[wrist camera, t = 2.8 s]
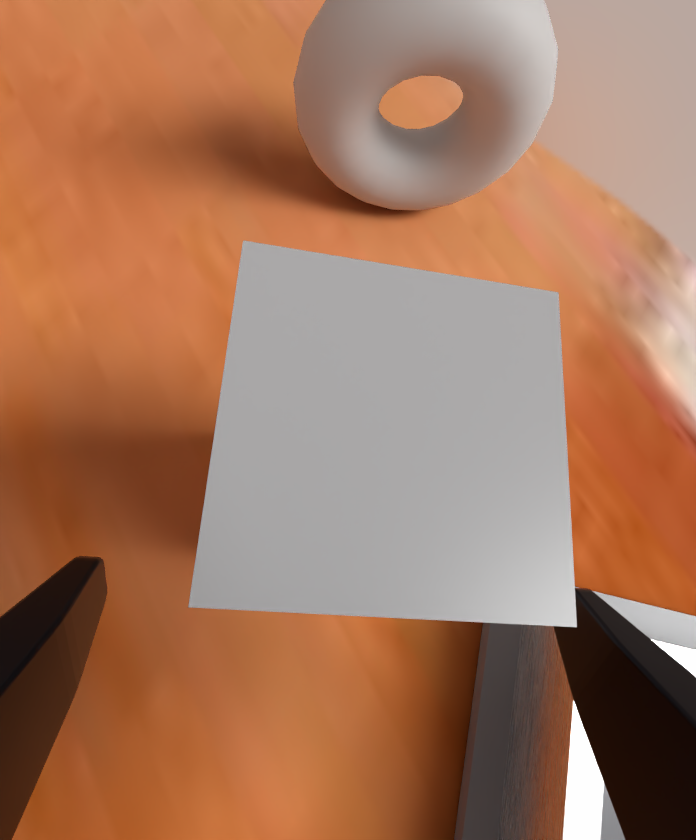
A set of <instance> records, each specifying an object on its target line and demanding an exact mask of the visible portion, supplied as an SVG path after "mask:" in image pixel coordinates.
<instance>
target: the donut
mask: <svg viewBox="0 0 696 840" xmlns="http://www.w3.org/2000/svg"><path fill="white" fill-rule="evenodd" d="M557 57H558V47H557V43H556V39H555V36H554V32H553V28H552V24H551V21H550V17H549V13H548V9H547V6H546V4H545V2H544V0H326V1H325V3H324V4H323V6H322V8H321V9H320V11H319V12H318V14H317V16H316V17H315V19H314V20H313V22H312V24H311V25H310V27H309V28H308V30H307V31H306V34H305V37H304V41H303V45H302V49H301V53H300V57H299V62H298V66H297V70H296V74H295V78H294V93H295V103H296V113H297V122H298V129H299V131H300V134H301V136H302V138H303V140H304V142H305V144H306V146H307V149H308V151H309V153H310V155H311V157H312V159H313V161H314V162H315V164H316V165H317V166H318V168H319V169H320V170H321V171H322V172H323V173H324V174H325V175H326V176H327V177H328V178H329V179H330V180H331V181H332V182H333V183H334V184H335V185H336V186H337V187H338V188H340V189H342V190H343V191H345V192H347V193H349V194H350V195H352V196H354V197H356V198H357V199H359V200H361V201H363V202H365V203H369V204H373V205H377V206H380V207H384V208H388V209H392V210H425V209H430V208H436V207H441V206H446V205H450V204H453V203H455V202H457V201H460V200H462V199H464V198H467V197H469V196H471V195H474V194H476V193H478V192H480V191H481V190H483V189H484V188H486V187H487V186H488V185H490V184H491V183H493V182H494V181H495V180H497V179H498V178H500V177H501V176H502V175H504V174H505V173H506V172H508V171H509V170H510V169H511V168H512V167H513V165H514V164H515V163H516V162H517V161H518V160H519V158H520V157H521V156H522V155H523V154H524V153H525V151H526V150H527V149H528V148H529V147H530V146H531V145H532V143H533V141H534V139H535V137H536V135H537V133H538V131H539V129H540V127H541V125H542V122H543V120H544V118H545V116H546V114H547V112H548V110H549V107H550V105H551V103H552V101H553V93H554V83H555V75H556V66H557ZM421 75H423V76H440V77H443V78H446V79H449V80H451V81H454V82H455V83H457V84H458V85H459V86H460V88H461V90H462V92H463V100H462V103H461V105H460V106H459V108H458V109H457V110H456V111H455V112H454V113H453V114H452V115H451V116H449V117H448V118H447V119H446V120H444V121H442V122H440V123H438V124H436V125H434V126H431V127H427V128H423V129H405V128H401V127H398V126H395V125H392V124H391V123H390V122H388V121H387V120H386V119H384V118H383V117H382V115H381V114H380V112H379V109H378V108H379V103H380V101H381V98H382V96H383V95H384V94H385V93H386V92H387V91H388V90H389V89H390V88H392V87H394V86H395V85H397V84H399V83H400V82H402V81H403V80H407V79H410V78H414V77H418V76H421Z"/></svg>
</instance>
